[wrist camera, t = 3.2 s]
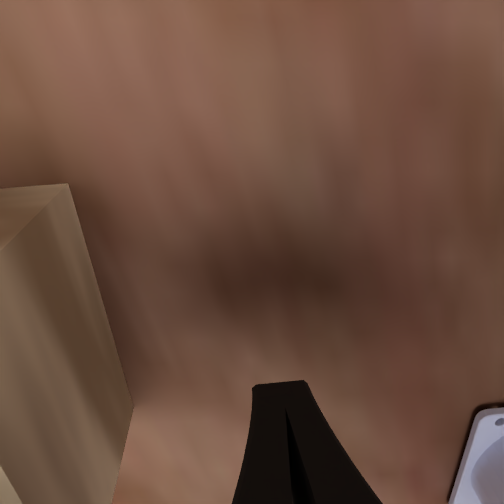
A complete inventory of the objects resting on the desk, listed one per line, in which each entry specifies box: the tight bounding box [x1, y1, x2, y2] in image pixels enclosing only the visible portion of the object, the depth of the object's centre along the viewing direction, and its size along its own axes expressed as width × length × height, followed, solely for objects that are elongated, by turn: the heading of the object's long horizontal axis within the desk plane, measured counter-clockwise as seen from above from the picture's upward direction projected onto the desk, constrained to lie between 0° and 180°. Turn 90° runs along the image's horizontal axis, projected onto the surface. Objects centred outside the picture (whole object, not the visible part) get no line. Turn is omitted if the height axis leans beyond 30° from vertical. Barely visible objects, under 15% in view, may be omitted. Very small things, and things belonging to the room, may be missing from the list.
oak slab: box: [0, 183, 134, 504], centre depth 12 cm, size 4×10×7 cm, turn 3°
